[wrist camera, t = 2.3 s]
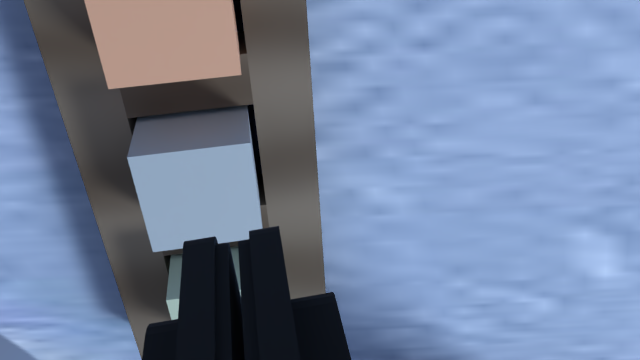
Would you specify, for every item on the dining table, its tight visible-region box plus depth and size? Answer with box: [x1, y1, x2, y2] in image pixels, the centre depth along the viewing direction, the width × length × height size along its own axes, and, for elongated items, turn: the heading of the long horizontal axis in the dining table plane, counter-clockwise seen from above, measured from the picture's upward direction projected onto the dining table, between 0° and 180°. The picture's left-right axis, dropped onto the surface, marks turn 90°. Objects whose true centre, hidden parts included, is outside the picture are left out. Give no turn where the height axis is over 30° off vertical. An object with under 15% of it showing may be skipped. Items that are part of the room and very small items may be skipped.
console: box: [24, 0, 326, 359], centre depth 29 cm, size 27×11×3 cm, turn 3°
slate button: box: [127, 105, 263, 252], centre depth 27 cm, size 5×5×4 cm
